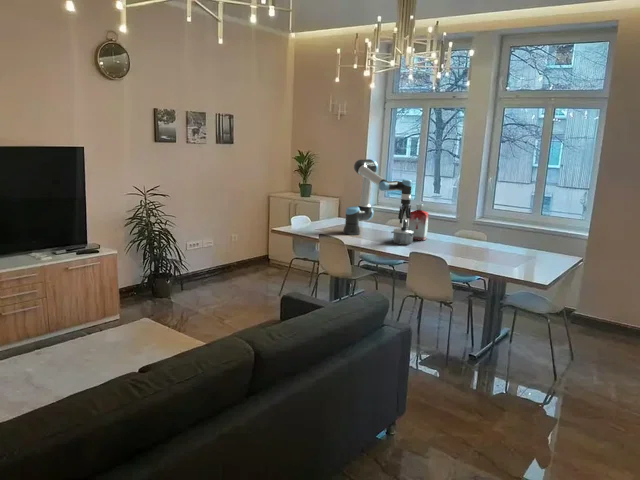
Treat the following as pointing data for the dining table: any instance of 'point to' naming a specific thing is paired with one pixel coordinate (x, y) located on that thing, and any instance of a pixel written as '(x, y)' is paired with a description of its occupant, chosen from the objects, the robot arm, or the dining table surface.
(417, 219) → the bottle
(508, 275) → the dining table surface
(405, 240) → the pot
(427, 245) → the dining table surface
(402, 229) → the lid
